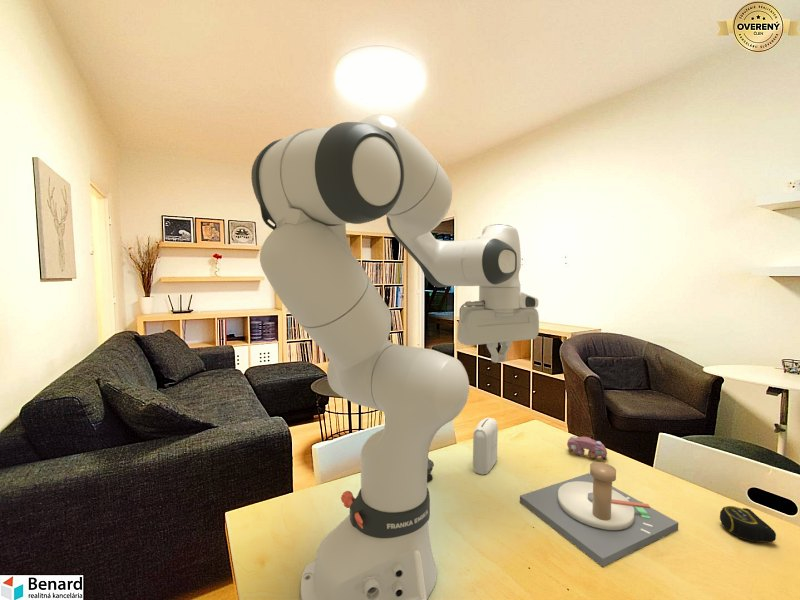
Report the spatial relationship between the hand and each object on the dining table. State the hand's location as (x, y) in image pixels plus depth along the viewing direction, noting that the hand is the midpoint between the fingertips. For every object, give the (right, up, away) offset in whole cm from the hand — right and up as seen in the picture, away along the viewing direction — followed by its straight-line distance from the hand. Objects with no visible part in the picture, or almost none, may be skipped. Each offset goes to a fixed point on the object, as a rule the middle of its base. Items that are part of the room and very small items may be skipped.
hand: (498, 361), depth 81 cm
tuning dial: (+20, -30, -6) cm, 36 cm away
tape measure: (+46, -32, -10) cm, 57 cm away
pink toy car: (+30, -30, +20) cm, 47 cm away
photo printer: (+1, -31, +15) cm, 34 cm away
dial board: (+19, -31, -5) cm, 37 cm away
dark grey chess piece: (-17, -31, +10) cm, 36 cm away
